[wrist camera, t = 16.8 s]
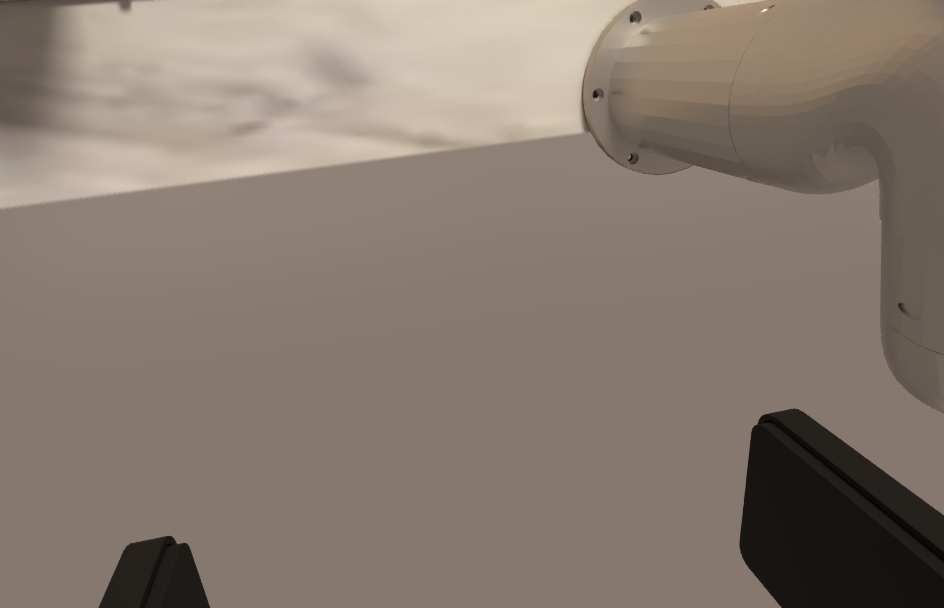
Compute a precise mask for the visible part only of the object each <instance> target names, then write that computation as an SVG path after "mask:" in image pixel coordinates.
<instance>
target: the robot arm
mask: <svg viewBox="0 0 944 608" xmlns="http://www.w3.org/2000/svg"><path fill="white" fill-rule="evenodd" d="M630 15H631V16H632V17H633V20H632V22H630ZM594 91H595V92H596V97H595V98H593V96H592V95H593V92H594ZM583 103H584V109H585V116H586V119H587V122H588V125H589V128H590V131H591V133H592V135H593V137H594V138H595V140H596V142H597V143H598V145H599V147H600V148H601V149H602V150H603V151H604V152H605V153H606V154H607V156H608V157H610V158H611V159H613V160H614V161H615V162H617V163H618V164H619V165H622V166H624V167H626V168H628V169H631V170H633V171H637V172H641V173H643V174H653V175H661V174H669V173H675V172H678V171H681V170H683V169H687V168H689V167H690V166H692V165H696V166H699V167H703V168H707V169H710V170H714V171H718V172H721V173H725V174H729V175H732V176H736V177H739V178H743V179H746V180H750V181H754V182H757V183H761V184H765V185H769V186H774V187H777V188H781V189H784V190H788V191H792V192H797V193H804V194H832V193H837V192H842V191H847V190H851V189H854V188H858V187H860V186H863V185H865V184H868V183H870V182H872V181H874V180H876V179H879V189H880V195H879V197H880V199H879V216H880V219H881V221H882V222H881V223H882V224H881V227H882V228H881V230H882V231H881V293H880V295H881V296H880V328H881V341H882V347H883V352H884V356H885V359H886V361H887V364H888V367H889V369H890V370H891V372H892V374H893V375H894V377H895V378H896V380H897V381H898V382H899V383H900V384H901V385H902V386H903V387H904V388H905V389H906V390H907V391H908V392H909V393H910V394H912V395H913V396H914V397H915V398H917V399H918V400H920V401H921V402H923V403H924V404H926V405H928V406H930V407H931V408H933V409H936V410H938V411H940V412H942V413H944V0H766V1H760V2H753V3H747V4H740V5H734V6H728V7H721V6H720V5H719V4H718V3H717V2H715V1H713V0H638V1H636V2H634V3H633V4H631V5H629V6H627V7H626V8H625V9H624V10H623V11H621V12H620V13H619V14H618V15H617V16H616V17H614V19H613V20H612V21H611V22H610V23H609V25H608V26H607V27H606V28H605V29H604V31H603V32H602V34H601V35H600V37H599V39H598V41H597V42H596V44H595V46H594V48H593V50H592V53H591V56H590V58H589V61H588V63H587V68H586V73H585V78H584V86H583ZM630 154H631V158H630V159H629V160H628V156H629V155H630ZM740 551H741V554H742V557H743V559H744V561H745V563H746V565H747V566H748V567H749V569H750V570H751V571H752V572H753V573H754V574H755V576H756V577H757V578H758V580H759V581H760V582H761V583H762V584H763V586H764V587H765V588H766V589H767V590H768V592H769V593H770V594H771V595H772V596H773V598H774V599H775V600H776V601H777V602H778V604H779V605H780V606H781V607H782V608H944V515H942V514H941V513H940V512H938V511H937V510H935V509H934V508H933V507H931V506H930V505H929V504H927V503H926V502H925V501H923V500H922V499H920V498H919V497H918V496H916V495H915V494H914V493H912V492H911V491H910V490H908V489H907V488H906V487H904V486H903V485H901V484H900V483H899V482H898V481H896V480H895V479H894V478H892V477H891V476H889V475H888V474H887V473H885V472H884V471H883V470H881V469H880V468H879V467H877V466H876V465H875V464H873V463H872V462H870V461H869V460H868V459H866V458H865V457H864V456H862V455H861V454H859V453H858V452H857V451H856V450H854V449H853V448H851V447H850V446H849V445H847V444H846V443H845V442H843V441H842V440H841V439H839V438H838V437H837V436H835V435H834V434H832V433H831V432H830V431H828V430H827V429H826V428H824V427H823V426H821V425H820V424H819V423H818V422H816V421H814V420H813V419H812V418H811V417H809V416H808V415H807V414H805V413H804V412H802V411H800V410H799V409H789V410H784V411H780V412H774V413H769V414H765V415H763V416H761V418H760V419H759V422H758V425H755V426H754V427H753V429H752V432H751V441H750V450H749V460H748V469H747V478H746V488H745V496H744V506H743V515H742V525H741V534H740ZM99 608H210V606H209V603H208V600H207V597H206V594H205V591H204V588H203V585H202V583H201V579H200V577H199V573H198V570H197V568H196V565H195V562H194V559H193V556H192V553H191V550H190V548H189V546H188V544H187V543H181V544H177V543H176V541H175V540H174V538H173V537H172V536H166V537H160V538H155V539H151V540H146V541H141V542H136V543H131V544H129V545H128V546H126V548H125V550H124V551H123V553H122V556H121V558H120V560H119V563H118V565H117V567H116V570H115V572H114V574H113V576H112V578H111V581H110V583H109V585H108V587H107V590H106V592H105V594H104V597H103V599H102V601H101V603H100V606H99Z"/></svg>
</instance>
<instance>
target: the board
mask: <svg viewBox="0 0 944 608" xmlns="http://www.w3.org/2000/svg"><path fill="white" fill-rule="evenodd" d="M9 1H23V0H0V2H9Z"/></svg>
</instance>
